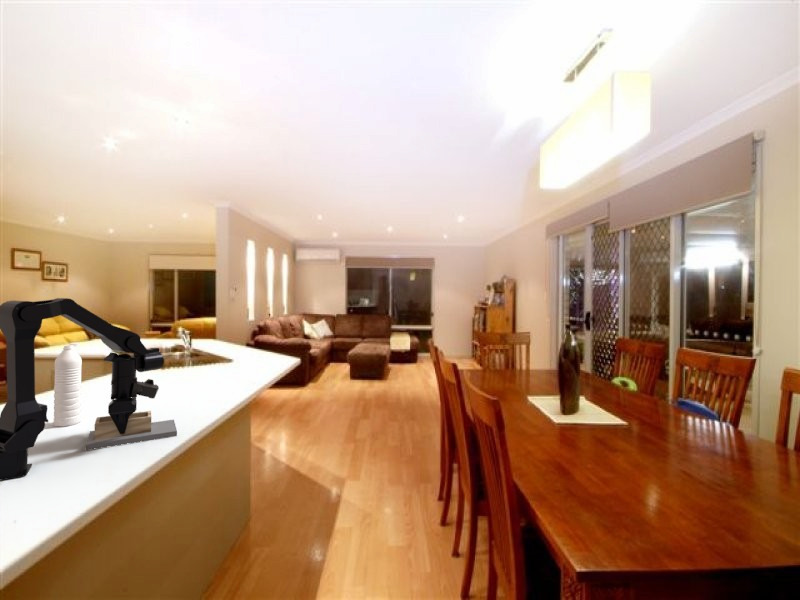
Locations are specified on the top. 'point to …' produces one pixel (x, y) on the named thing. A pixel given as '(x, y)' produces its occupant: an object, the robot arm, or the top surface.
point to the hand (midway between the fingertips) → (123, 428)
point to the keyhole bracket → (135, 425)
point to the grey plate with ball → (135, 435)
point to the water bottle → (67, 387)
